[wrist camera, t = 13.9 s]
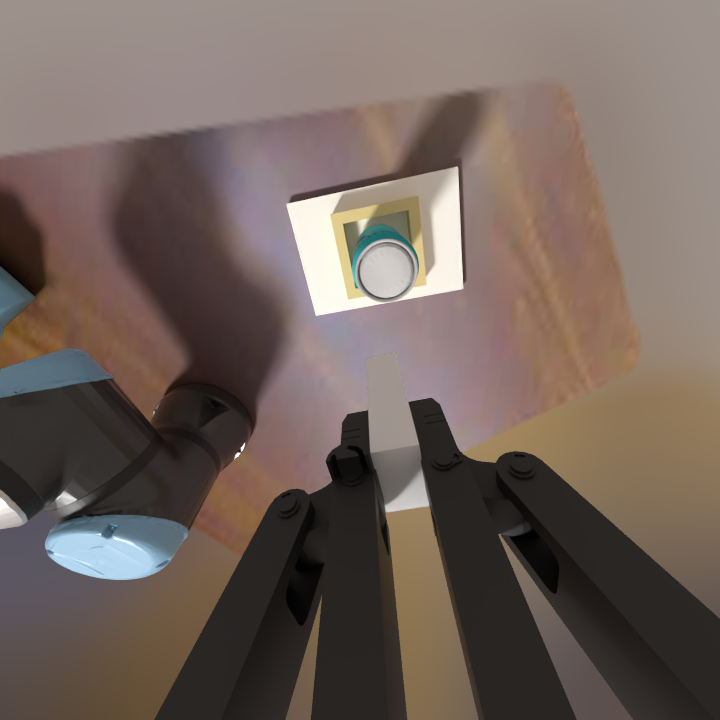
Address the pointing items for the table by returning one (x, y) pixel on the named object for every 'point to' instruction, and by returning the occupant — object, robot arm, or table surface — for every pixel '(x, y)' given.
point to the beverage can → (384, 264)
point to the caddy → (386, 207)
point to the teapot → (11, 298)
